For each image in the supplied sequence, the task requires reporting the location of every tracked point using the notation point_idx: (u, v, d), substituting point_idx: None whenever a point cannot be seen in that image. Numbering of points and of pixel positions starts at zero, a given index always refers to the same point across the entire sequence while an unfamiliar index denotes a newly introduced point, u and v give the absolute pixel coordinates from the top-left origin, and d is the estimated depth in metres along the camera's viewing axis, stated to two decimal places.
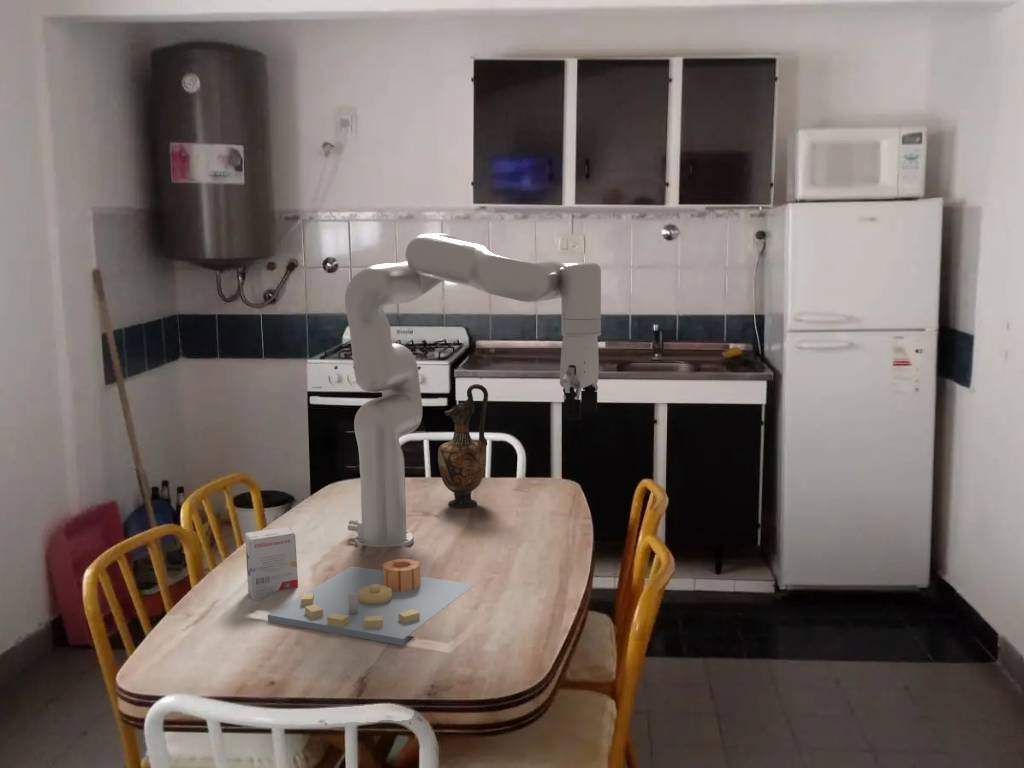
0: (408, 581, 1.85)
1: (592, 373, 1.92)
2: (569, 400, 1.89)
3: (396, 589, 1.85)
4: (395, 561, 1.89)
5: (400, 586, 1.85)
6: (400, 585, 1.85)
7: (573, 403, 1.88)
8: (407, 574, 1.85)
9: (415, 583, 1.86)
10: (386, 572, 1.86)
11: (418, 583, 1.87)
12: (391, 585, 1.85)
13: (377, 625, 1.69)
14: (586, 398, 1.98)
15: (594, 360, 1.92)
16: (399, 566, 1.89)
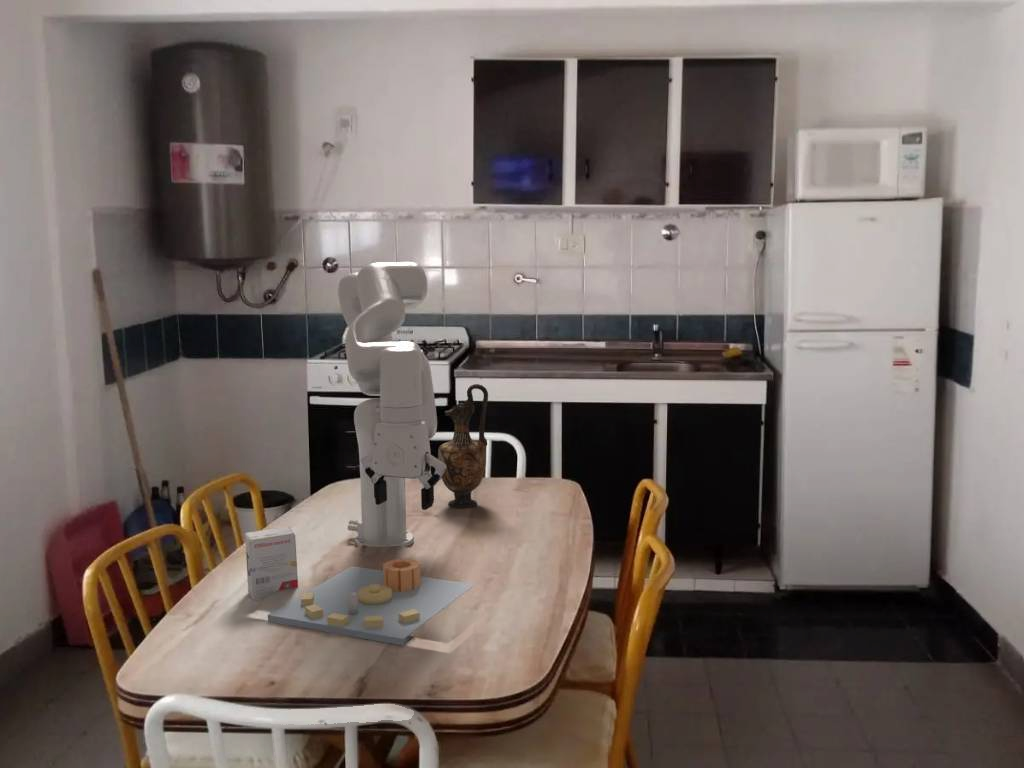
0: (408, 581, 1.85)
1: None
2: (431, 488, 1.83)
3: (396, 589, 1.85)
4: (395, 561, 1.89)
5: (400, 586, 1.85)
6: (400, 585, 1.85)
7: (433, 489, 1.83)
8: (407, 574, 1.85)
9: (415, 583, 1.86)
10: (386, 572, 1.86)
11: (418, 583, 1.87)
12: (391, 585, 1.85)
13: (377, 625, 1.69)
14: (381, 490, 1.87)
15: None
16: (399, 566, 1.89)
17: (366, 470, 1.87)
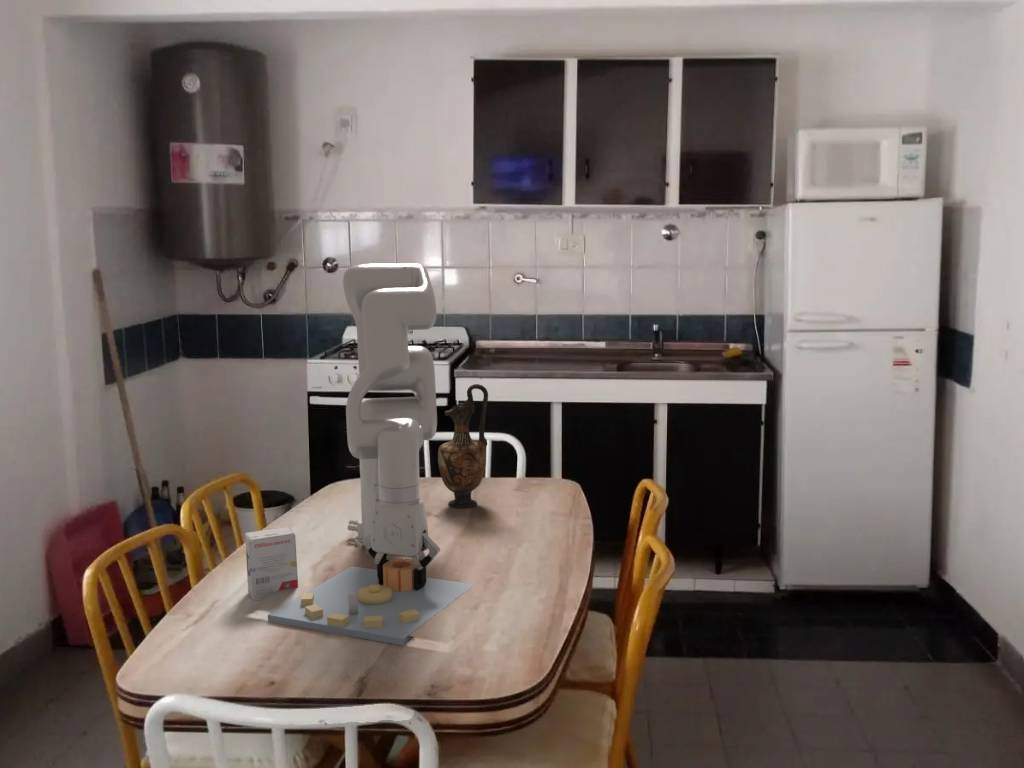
0: (408, 581, 1.85)
1: None
2: (423, 568, 1.85)
3: (396, 589, 1.85)
4: (395, 561, 1.89)
5: (400, 586, 1.85)
6: (400, 585, 1.85)
7: (425, 570, 1.86)
8: (407, 574, 1.85)
9: None
10: (386, 572, 1.86)
11: None
12: (391, 585, 1.85)
13: (377, 625, 1.69)
14: None
15: None
16: (399, 566, 1.89)
17: (369, 550, 1.89)
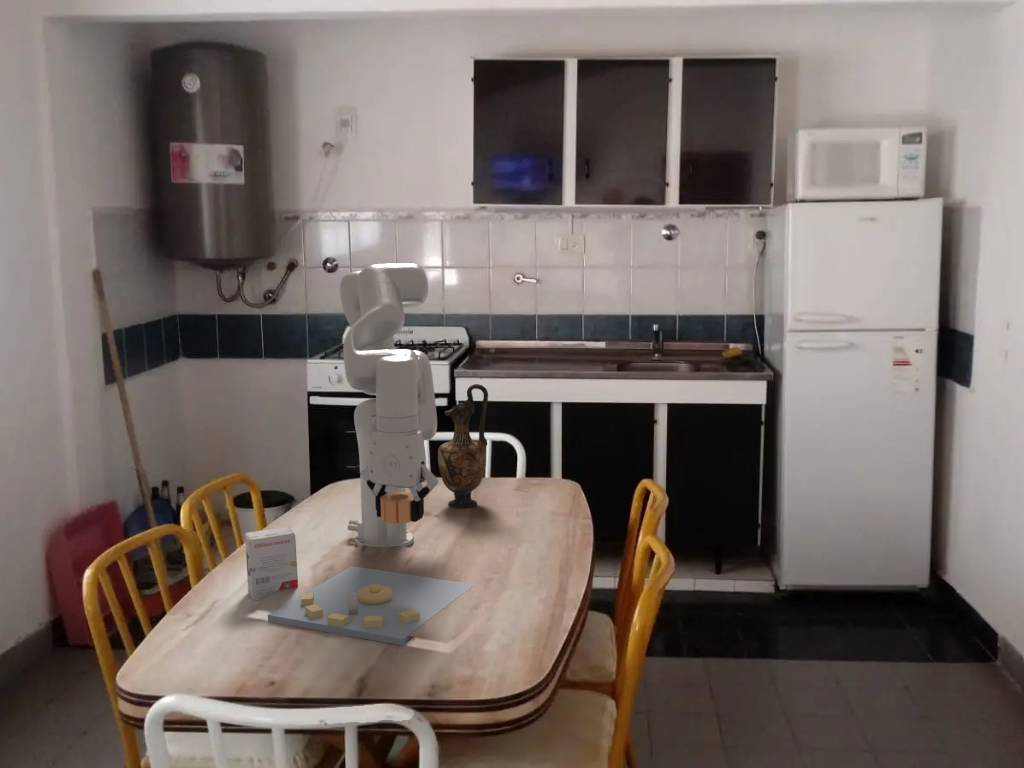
0: (406, 513, 1.83)
1: None
2: (421, 500, 1.84)
3: (394, 521, 1.83)
4: (393, 494, 1.88)
5: (398, 518, 1.83)
6: (398, 517, 1.83)
7: (423, 502, 1.85)
8: (405, 506, 1.83)
9: None
10: (384, 504, 1.84)
11: None
12: (389, 517, 1.84)
13: (377, 625, 1.69)
14: None
15: None
16: (397, 499, 1.88)
17: (368, 482, 1.87)
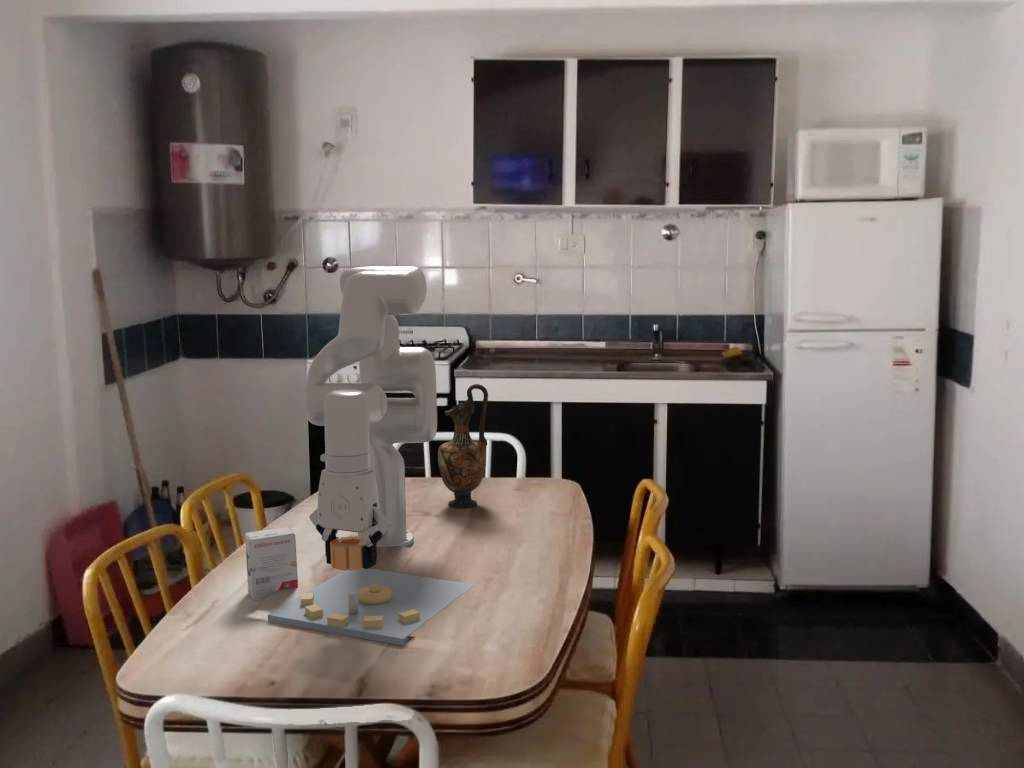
0: (357, 559, 1.70)
1: None
2: (373, 545, 1.70)
3: (344, 568, 1.69)
4: (344, 538, 1.74)
5: (348, 564, 1.70)
6: (348, 563, 1.70)
7: (375, 547, 1.71)
8: (356, 551, 1.69)
9: None
10: (333, 549, 1.70)
11: None
12: (338, 563, 1.70)
13: (377, 625, 1.69)
14: None
15: None
16: (349, 544, 1.74)
17: (317, 526, 1.74)
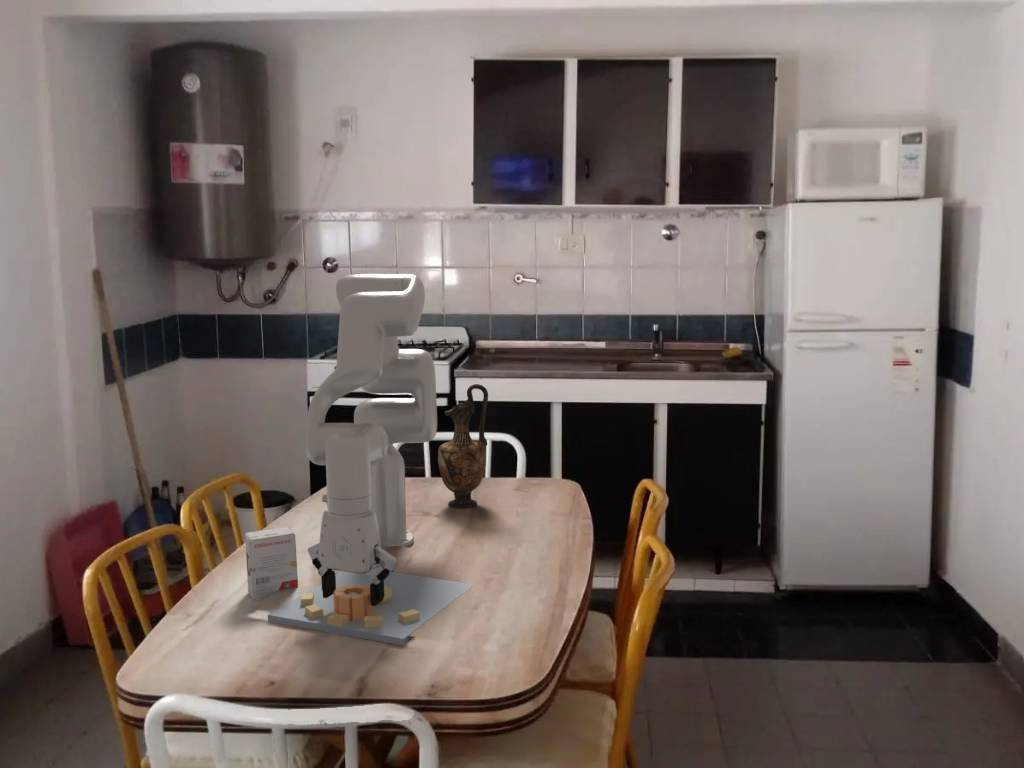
0: (360, 609, 1.72)
1: None
2: (380, 582, 1.71)
3: None
4: (347, 587, 1.76)
5: (352, 615, 1.71)
6: (352, 614, 1.71)
7: (383, 584, 1.72)
8: (359, 602, 1.71)
9: (368, 611, 1.73)
10: (337, 600, 1.72)
11: (372, 611, 1.74)
12: (342, 614, 1.72)
13: (377, 625, 1.69)
14: (329, 582, 1.75)
15: None
16: None
17: (313, 561, 1.75)
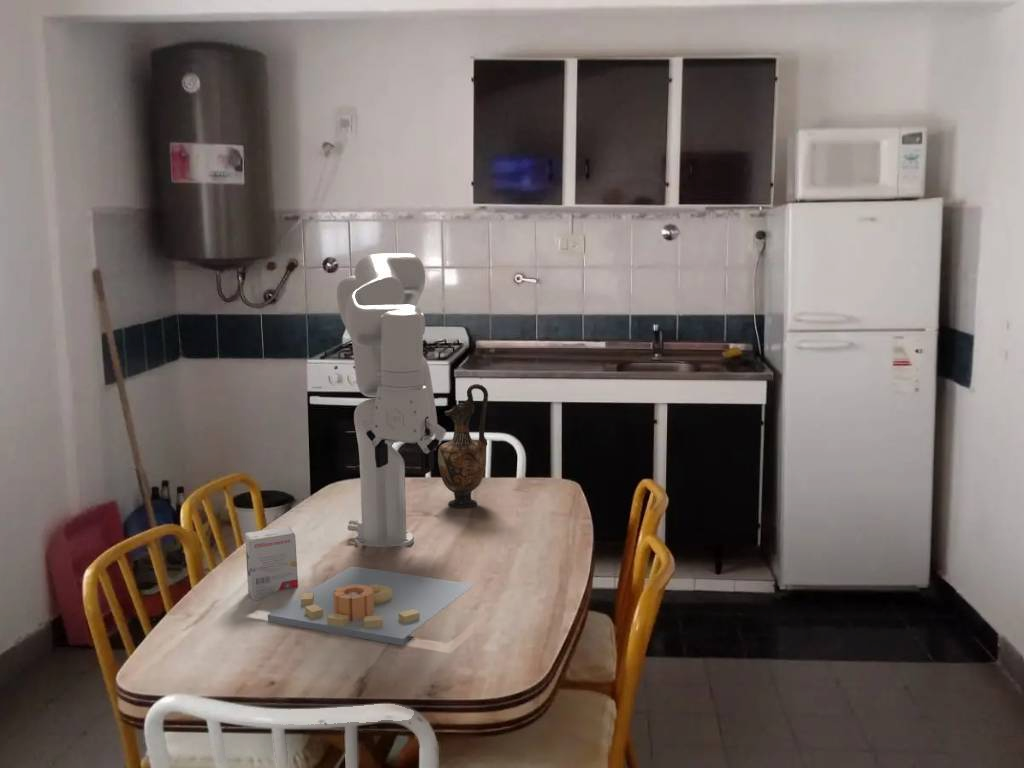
0: (360, 609, 1.72)
1: None
2: (430, 452, 1.83)
3: None
4: (347, 587, 1.76)
5: (352, 615, 1.71)
6: (352, 614, 1.71)
7: (432, 454, 1.83)
8: (359, 602, 1.71)
9: (368, 611, 1.73)
10: (337, 600, 1.72)
11: (372, 611, 1.74)
12: (342, 614, 1.72)
13: (377, 625, 1.69)
14: (382, 453, 1.87)
15: None
16: None
17: (367, 433, 1.87)
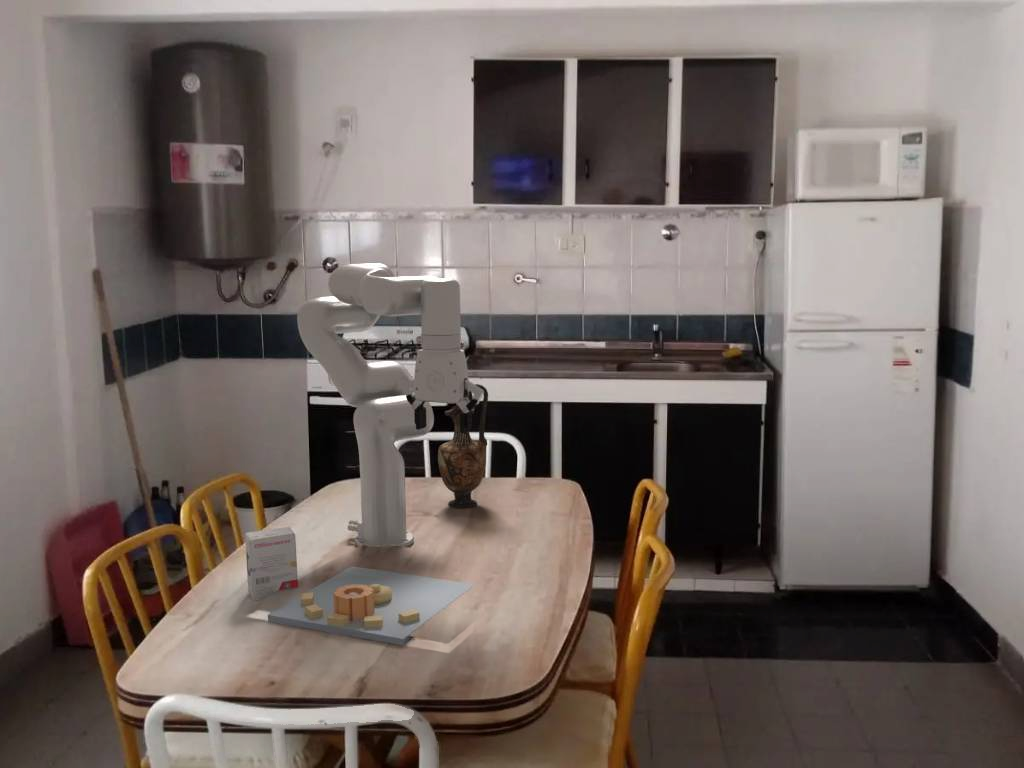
0: (360, 609, 1.72)
1: None
2: (469, 412, 1.93)
3: None
4: (347, 587, 1.76)
5: (352, 615, 1.71)
6: (352, 614, 1.71)
7: (471, 414, 1.93)
8: (359, 602, 1.71)
9: (368, 611, 1.73)
10: (337, 600, 1.72)
11: (372, 611, 1.74)
12: (342, 614, 1.72)
13: (377, 625, 1.69)
14: (421, 416, 1.97)
15: None
16: None
17: (407, 397, 1.97)
